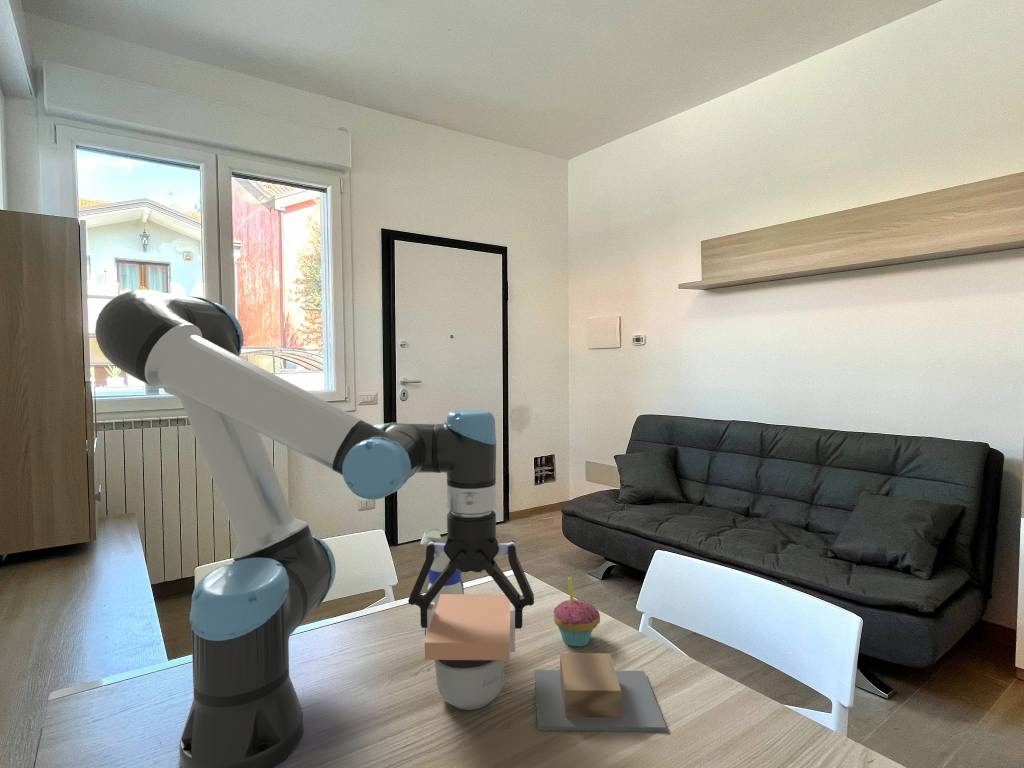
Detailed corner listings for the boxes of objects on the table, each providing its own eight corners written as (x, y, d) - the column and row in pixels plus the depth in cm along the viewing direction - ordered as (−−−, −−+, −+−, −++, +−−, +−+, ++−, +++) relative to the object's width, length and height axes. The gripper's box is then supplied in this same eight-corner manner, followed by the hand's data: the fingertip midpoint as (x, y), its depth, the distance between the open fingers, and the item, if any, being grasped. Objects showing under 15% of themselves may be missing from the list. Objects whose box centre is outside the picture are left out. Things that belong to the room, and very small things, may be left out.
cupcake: (543, 639, 103) (544, 575, 103) (574, 624, 109) (574, 564, 108) (578, 657, 97) (579, 590, 96) (609, 641, 103) (610, 577, 102)
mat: (537, 730, 78) (537, 726, 78) (534, 673, 92) (534, 670, 92) (666, 731, 78) (666, 727, 78) (643, 674, 92) (643, 670, 92)
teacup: (495, 724, 79) (495, 670, 79) (423, 715, 82) (423, 661, 81) (514, 670, 93) (514, 624, 93) (452, 663, 95) (452, 617, 95)
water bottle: (422, 621, 110) (421, 497, 109) (465, 619, 111) (465, 496, 110) (419, 643, 102) (418, 508, 101) (466, 640, 103) (466, 507, 101)
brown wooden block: (565, 717, 80) (565, 690, 80) (560, 677, 90) (560, 653, 90) (620, 717, 80) (621, 690, 80) (609, 677, 90) (609, 653, 90)
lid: (424, 659, 79) (424, 642, 79) (440, 608, 95) (440, 594, 95) (509, 660, 79) (509, 643, 79) (511, 608, 95) (511, 594, 95)
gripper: (387, 517, 82) (388, 659, 83) (551, 518, 82) (550, 660, 83) (398, 503, 90) (399, 634, 91) (548, 504, 89) (548, 635, 90)
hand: (471, 647), depth 87 cm, fingers closed on lid, 12 cm apart
